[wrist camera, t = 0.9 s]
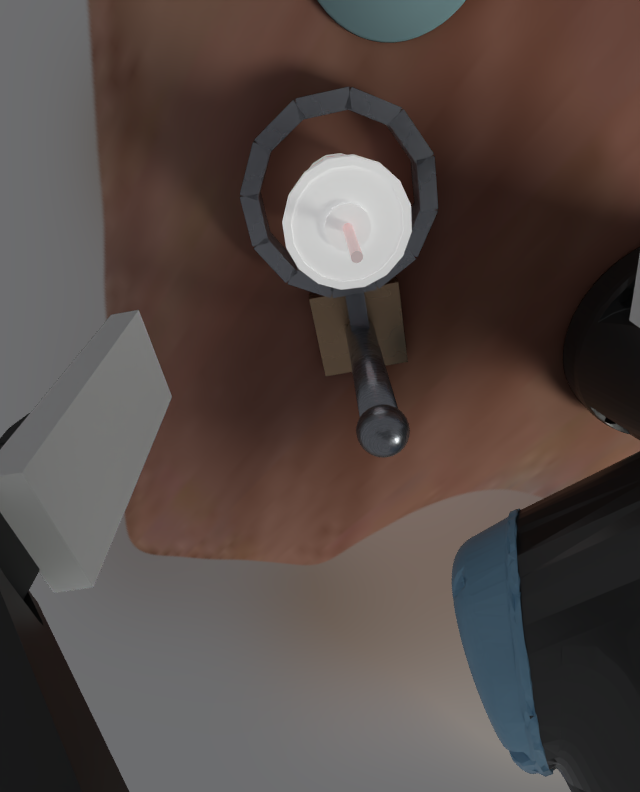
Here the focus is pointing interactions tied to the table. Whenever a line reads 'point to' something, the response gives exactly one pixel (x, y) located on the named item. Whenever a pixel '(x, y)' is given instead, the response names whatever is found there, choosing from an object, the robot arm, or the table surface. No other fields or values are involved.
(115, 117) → the table surface
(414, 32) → the coaster
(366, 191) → the beverage cup
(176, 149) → the table surface
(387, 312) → the ring stand
